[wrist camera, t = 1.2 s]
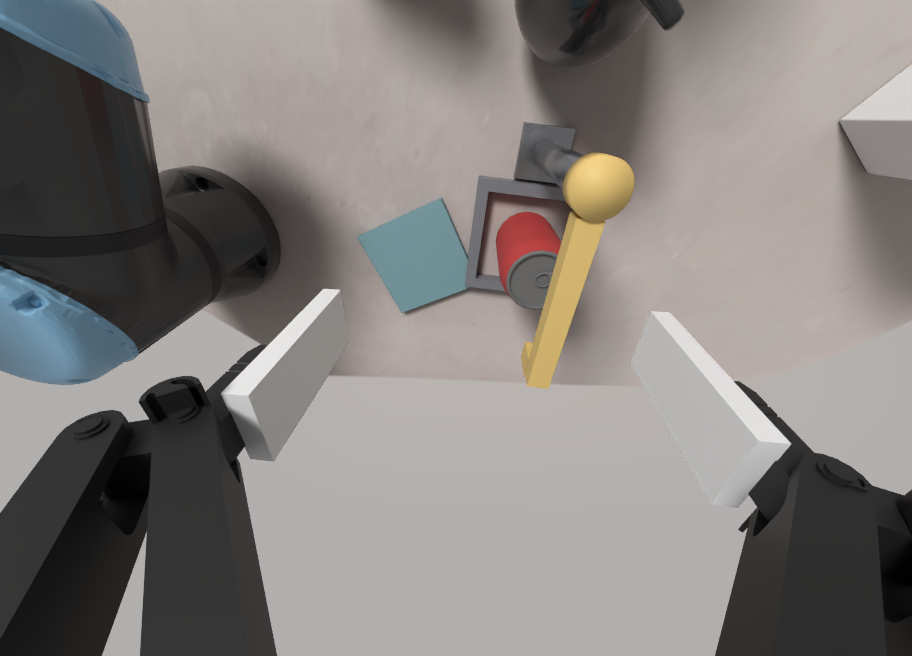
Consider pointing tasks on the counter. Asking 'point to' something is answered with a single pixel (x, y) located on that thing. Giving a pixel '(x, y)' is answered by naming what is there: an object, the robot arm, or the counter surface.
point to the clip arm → (576, 254)
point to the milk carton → (884, 128)
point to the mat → (418, 256)
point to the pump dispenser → (587, 27)
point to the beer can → (527, 258)
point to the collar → (479, 214)
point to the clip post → (545, 153)
